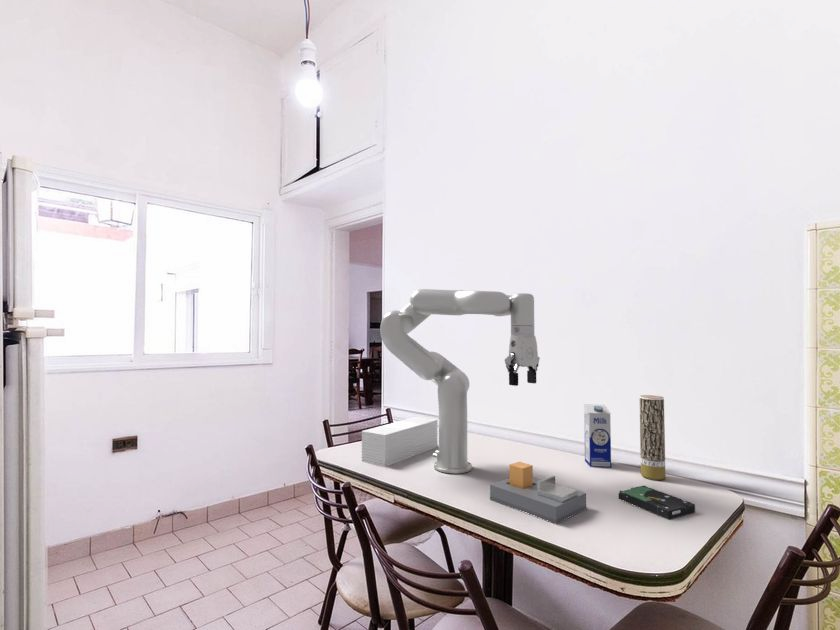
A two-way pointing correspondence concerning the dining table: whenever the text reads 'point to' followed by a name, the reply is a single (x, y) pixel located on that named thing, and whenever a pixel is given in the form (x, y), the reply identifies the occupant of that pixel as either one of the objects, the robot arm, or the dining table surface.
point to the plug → (521, 475)
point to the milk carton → (597, 435)
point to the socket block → (536, 501)
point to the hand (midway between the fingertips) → (522, 384)
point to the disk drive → (657, 502)
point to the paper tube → (652, 437)
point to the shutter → (554, 490)
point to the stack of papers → (398, 440)
